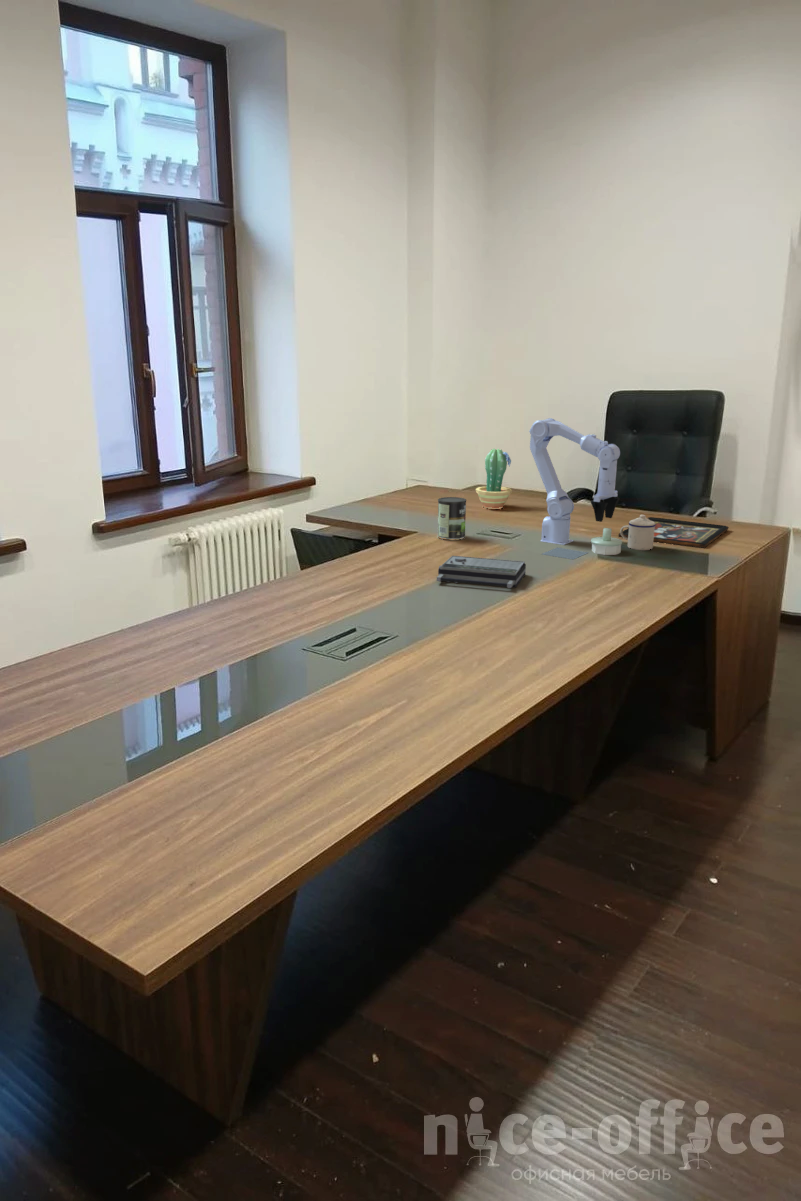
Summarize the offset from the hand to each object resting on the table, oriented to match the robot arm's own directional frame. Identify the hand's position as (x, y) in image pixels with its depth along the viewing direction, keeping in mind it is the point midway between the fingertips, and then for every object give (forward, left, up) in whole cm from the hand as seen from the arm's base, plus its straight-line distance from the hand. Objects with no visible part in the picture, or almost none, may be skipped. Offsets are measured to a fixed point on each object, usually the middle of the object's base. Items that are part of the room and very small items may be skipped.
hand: (603, 519), depth 309 cm
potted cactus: (-68, +40, -11) cm, 80 cm away
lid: (+4, -5, -7) cm, 9 cm away
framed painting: (+12, +38, -11) cm, 42 cm away
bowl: (+4, -5, -10) cm, 12 cm away
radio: (-13, -60, -11) cm, 62 cm away
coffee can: (-51, -18, -11) cm, 55 cm away
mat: (-6, -16, -10) cm, 20 cm away
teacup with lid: (+9, +9, -11) cm, 17 cm away
